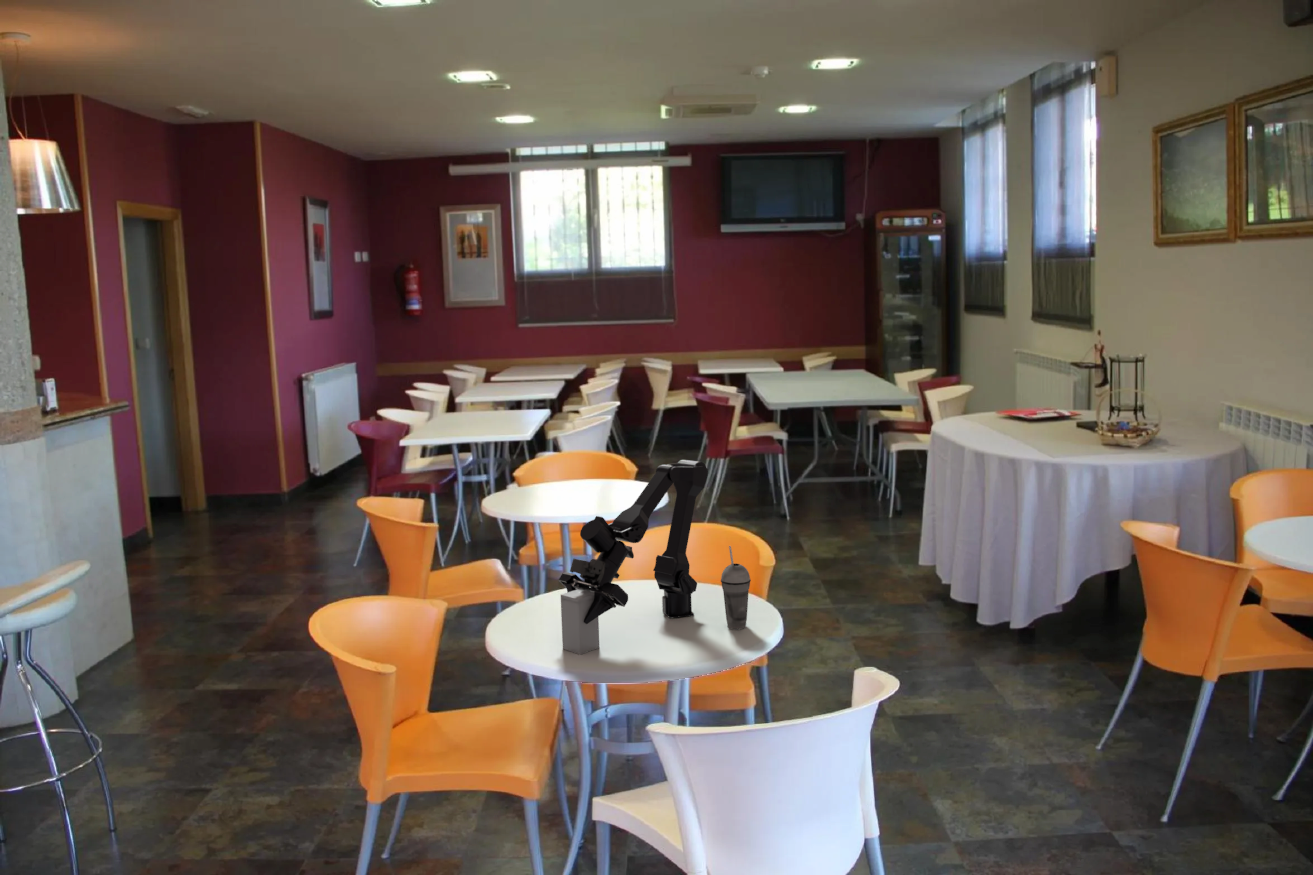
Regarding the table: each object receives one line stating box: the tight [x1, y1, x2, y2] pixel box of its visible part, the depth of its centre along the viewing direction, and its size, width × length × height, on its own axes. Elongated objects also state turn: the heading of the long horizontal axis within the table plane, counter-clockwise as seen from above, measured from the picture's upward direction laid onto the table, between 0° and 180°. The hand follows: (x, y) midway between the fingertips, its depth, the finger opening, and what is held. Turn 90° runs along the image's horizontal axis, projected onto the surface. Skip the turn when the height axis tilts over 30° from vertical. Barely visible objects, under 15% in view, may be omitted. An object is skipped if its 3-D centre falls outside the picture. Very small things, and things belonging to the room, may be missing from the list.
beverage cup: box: [720, 545, 751, 630], centre depth 261 cm, size 7×7×20 cm
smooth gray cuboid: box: [560, 589, 600, 655], centre depth 250 cm, size 6×6×13 cm
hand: (575, 620), depth 248 cm, fingers closed on smooth gray cuboid, 6 cm apart
